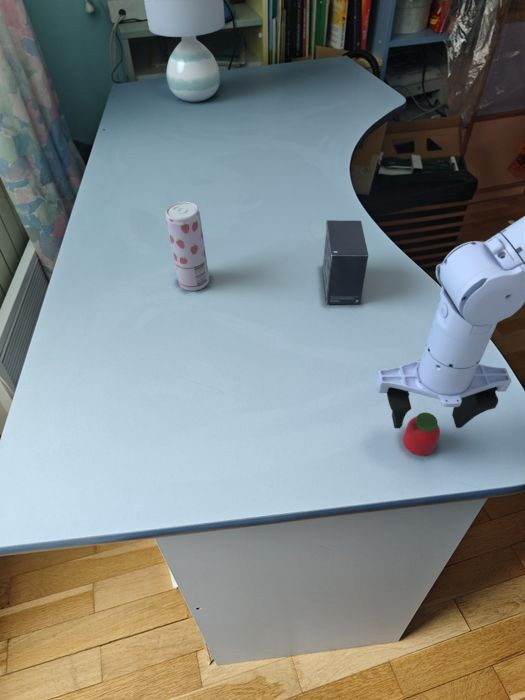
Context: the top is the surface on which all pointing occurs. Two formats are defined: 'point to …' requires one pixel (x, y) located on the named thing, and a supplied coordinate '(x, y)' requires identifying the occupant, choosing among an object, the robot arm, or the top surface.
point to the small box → (344, 262)
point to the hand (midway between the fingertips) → (426, 421)
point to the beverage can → (187, 245)
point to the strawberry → (421, 434)
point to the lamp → (188, 44)
